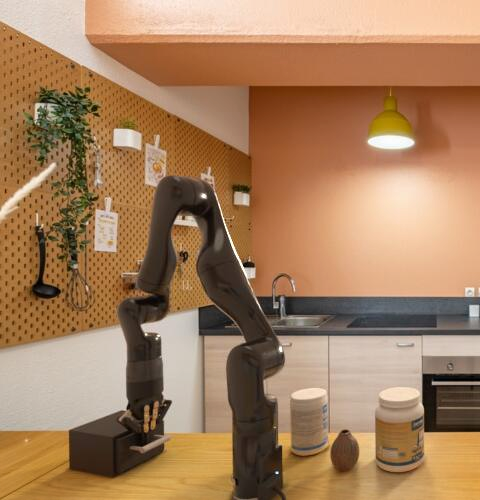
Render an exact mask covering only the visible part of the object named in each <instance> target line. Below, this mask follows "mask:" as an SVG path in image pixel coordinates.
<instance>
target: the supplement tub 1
mask: <svg viewBox="0 0 480 500" xmlns="http://www.w3.org/2000/svg"><path fill="white" fill-rule="evenodd" d="M289 410H290V411H289V418H290V423H289V424H290V425H289V426H290V450H291V452H292V453H293V454H295V455H296V456H302V457H303V456H304V457H305V456H312V455H316V454H319V453H320V452H322V451H324V450H325V449H326V448H327V447H328V444H329V417H328V416H329V415H328V394H327V390H325V388H321V387H309V388H308V387H307V388H303V389H298V390H295V391H294V392H292V393H291V395H290V401H289Z"/></svg>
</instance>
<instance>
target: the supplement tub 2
mask: <svg viewBox="0 0 480 500" xmlns="http://www.w3.org/2000/svg"><path fill="white" fill-rule="evenodd" d="M421 400H422V398H421V392H420V391H419V390H418V389H416V388H413V387H408V386H407V387H405V386H399V387H391V388H387V389H384V390H382V391H380V392H379V394H378V401H377V402H378V404H377V406H376V407H375V411H374V416H375V417H374V423H375V424H374V427H375V429H374V430H375V431H374V434H375V435H374V436H375V437H374V438H375V439H374V440H375V441H374V442H375V443H374V444H375V463H376V464H377V466H378V467H379V468H381V469H382V470H385V471H387V472H390V473H404V472H409V471H412V470H415V469H417V468H418V467H420V466H421V464H422V463H423V461H424V459H425V408H424V405H423V404H422V402H421Z"/></svg>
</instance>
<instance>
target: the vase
mask: <svg viewBox="0 0 480 500" xmlns="http://www.w3.org/2000/svg"><path fill="white" fill-rule="evenodd" d="M329 453H330V456H329V457H330V462H331V464H332V467H334V468H335V470H337V471H339V472H348V471H350V470H352V469H353V468H354V467H355V466H356V465H357V463H358V461H359V459H360V444H359V442H358V440H357V438H356V437H355V436H354V435H353V434H352V433H351V430H350V429H347V428H344V429H341V430H340V431H339V432H338V435H337V436H336V438H335V439H334V440H333V443H332V444H331V447H330V451H329Z"/></svg>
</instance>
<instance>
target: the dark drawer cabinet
mask: <svg viewBox="0 0 480 500" xmlns="http://www.w3.org/2000/svg"><path fill="white" fill-rule="evenodd" d="M126 411H127V410H123V409H121V410H118V411H116V412H112V413H111V414H108V415H105V416H103V417H99V418H97V419H94V420H91V421H88V422H86V423H84V424H81V425H79V426H76V427H73V428H71V429H68V469H69V470H72V471H77V472H83V473H88V474H93V475H97V476H102V477H109V478H115V477H117V476H120V475H121V474H124V473H125V472H127V471H129V470H130V469H133V468H134V467H136V466H139V465H140V464H142V463H144V462H146V461H149V460H150V459H152V458H154V457H156V456H157V455H159V454H161V453H163V452H164V450H163V451H161V452H159V453H158V454H156V455H154V456H152V457H150V458H148V459H146V460H144V461H142V462H140V463H138V464H136V465H134V466H132V467H130V468H129V469H127V470H125V471H123V472H121V473H116V442H115V440H116V439H117V438H119V437H121V436H124V435H126V434H128V433H131V432H130V431H128V430H127V429H126V428H125V427H123V426H122V425H121V424H120V423H118V422H117V421H116V419H117V417H119V416H122V415H123V414H124V413H125V412H126ZM131 416H132V415H131ZM158 417H159V416H158ZM132 418H133V419H132V421H133V422H134V417H133V416H132ZM157 419H158V418H157Z"/></svg>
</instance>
